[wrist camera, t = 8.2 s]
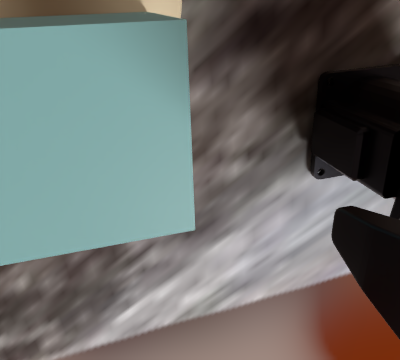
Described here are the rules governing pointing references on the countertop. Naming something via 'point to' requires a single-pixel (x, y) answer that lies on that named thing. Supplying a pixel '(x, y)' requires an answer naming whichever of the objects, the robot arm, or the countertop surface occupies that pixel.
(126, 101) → the teal cube
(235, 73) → the countertop surface
